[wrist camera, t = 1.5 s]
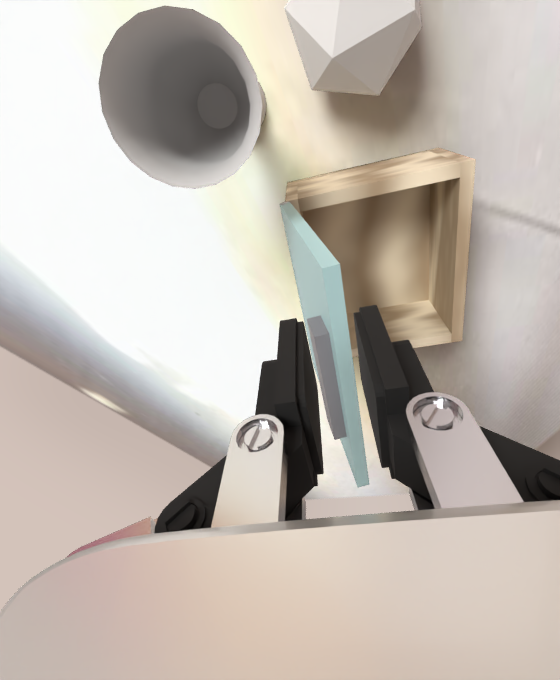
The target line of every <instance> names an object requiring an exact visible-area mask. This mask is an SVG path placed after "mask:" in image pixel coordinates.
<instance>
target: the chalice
mask: <svg viewBox="0 0 560 680" xmlns="http://www.w3.org/2000/svg"><path fill="white" fill-rule="evenodd" d="M99 89H100V97H101V105H102V112H103V115H104V117H105V120H106V122H107V124H108V127H109V129H110V132H111V134H112V137H113V139H114V140H115V142H116V143H117V144H118V146H119V147H120V148H121V150H122V151H123V152H124V153H125V155H126V156H127V157H128V159H129V160H130V161H131V162H132V163H133V164H135V165H136V166H137V167H138V168H140V169H141V170H142V171H143V172H145V173H146V174H147V175H149V176H150V177H152V178H154V179H156V180H159V181H161V182H163V183H166V184H168V185H171V186H174V187H183V188H192V189H196V188H201V187H206V186H212V185H216V184H218V183H220V182H221V181H223V180H225V179H226V178H228V177H230V176H232V175H233V174H235V173H236V172H237V171H238V169H239V168H240V167H241V166H242V165H243V164H244V163H245V161H246V160H247V159H248V158H249V157H250V155H251V153H252V150H253V148H254V145H255V143H256V140H257V138H258V136H259V133H260V126H261V125H262V123H263V120H264V118H265V115H266V100H265V94H264V92H263V89H262V87H261V85H260V83H259V82H258V81H257V76H256V73H255V71H254V69H253V67H252V65H251V63H250V61H249V59H248V58H247V56H246V54H245V52H244V50H243V48H242V46H241V45H240V44H239V43H238V42H237V41H236V40H235V39H234V38H233V37H232V36H231V35H230V34H229V33H228V32H227V31H226V30H225V29H224V28H223V27H222V26H221V24H220V23H218V22H216V21H214V20H212V19H210V18H208V17H206V16H204V15H202V14H201V13H199V12H197V11H195V10H193V9H186V8H178V7H170V6H162V7H158V8H154V9H151V10H147V11H143V12H140V13H138V14H136V15H135V16H134V17H133V18H131V19H130V20H129V21H128V22H126V23H125V24H124V25H123V26H121V27H120V28H119V29H118V30H117V31H116V33H115V35H114V36H113V38H112V40H111V42H110V44H109V45H108V47H107V49H106V51H105V52H104V55H103V61H102V66H101V72H100V78H99Z"/></svg>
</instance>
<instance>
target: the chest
mask: <svg viewBox="0 0 560 680" xmlns="http://www.w3.org/2000/svg"><path fill="white" fill-rule="evenodd" d="M475 161H476V159H473V158H470V157H466V156H463V155H460V154H457V153H454V152H451V151H448V150H444V149H441V148H435V149H431V150H426V151H422V152H418V153H413V154H409V155H404V156H400V157H396V158H391V159H387V160H383V161H378V162H374V163H370V164H365V165H361V166H357V167H352V168H348V169H344V170H339V171H335V172H331V173H326V174H322V175H318V176H313V177H309V178H304V179H300V180H296V181H291V182H287V189H286V197H285V202H290V203H291V204H292V205H293V206H294V208H295V209H296V210H297V211H298V213H299V214H300V215H301V216H302V218H303V219H304V220H305V221H306V222H307V224H308V225H309V226H310V227H311V229H312V230H313V231H314V232H315V234H316V235H317V236H318V237H319V239H320V240H321V241H322V242H323V244H324V245H325V246H326V247H327V248H328V250H329V251H330V252H331V253H332V255H333V256H334V257H335V258H336V260H337V261H338V262H339V263H340V269H341V276H342V283H343V291H344V298H345V306H346V313H347V321H348V328H349V336H350V343H351V351H352V357H357V356H358V348H357V340H356V331H355V323H354V313H356V312H359V308H360V307H366V306H371V305H377V307H378V310H379V312H380V315H381V317H382V320H383V322H384V325H385V327H386V330H387V332H388V335H389V337H390V340H391V342H395V341H401V340H409V341H410V343H411V345H412V347H413V348H417V347H424V346H431V345H437V344H444V343H451V342H458V341H462V334H463V321H464V308H465V294H466V281H467V268H468V254H469V241H470V228H471V214H472V201H473V188H474V174H475Z"/></svg>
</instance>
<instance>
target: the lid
mask: <svg viewBox="0 0 560 680" xmlns="http://www.w3.org/2000/svg"><path fill="white" fill-rule="evenodd" d="M280 208H281V213H282V218H283V222H284V227H285V232H286V237H287V241H288V246H289V251H290V256H291V260H292V265H293V270H294V274H295V279H296V284H297V289H298V293H299V298H300V303H301V308H302V312H303V317H304V322H305V327H306V331H307V336H308V341H309V346H310V350H311V355H312V360H313V364H314V368H315V371H316V374H317V376H318V379H319V382H320V386H321V391H322V396H323V400H324V405H325V410H326V415H327V419H328V422H329V425H330V428H331V431H332V434H333V436H334V439H335V440H336V439H340V440H341V442H342V445H343V448H344V451H345V453H346V456H347V459H348V462H349V464H350V467H351V470H352V473H353V475H354V478H355V481H356V484H357V486H358V487H361V486H365V485H369V478H368V471H367V463H366V456H365V448H364V441H363V433H362V426H361V418H360V411H359V403H358V396H357V388H356V381H355V373H354V366H353V358H352V351H351V343H350V336H349V328H348V321H347V313H346V306H345V298H344V291H343V283H342V276H341V269H340V263H339V262H338V261H337V260H336V258H335V257H334V256H333V255H332V253H331V252H330V251H329V250H328V248H327V247H326V246H325V245H324V244H323V242H322V241H321V240H320V239H319V237H318V236H317V235H316V234H315V232H314V231H313V230H312V229H311V227H310V226H309V225H308V224H307V222H306V221H305V220H304V219H303V218H302V216H301V215H300V214H299V213H298V211H297V210H296V209H295V208H294V206H293V205H292V204H291V203H290V202H283V203H281V204H280Z"/></svg>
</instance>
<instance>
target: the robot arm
mask: <svg viewBox="0 0 560 680" xmlns="http://www.w3.org/2000/svg"><path fill="white" fill-rule="evenodd" d="M354 323H355V331H356V340H357V348H358V356H359V364H360V373H361V380H362V385H363V389H364V394H365V398H366V402H367V407H368V411H369V415H370V419H371V424H372V428H373V432H374V437H375V441H376V445H377V450H378V454H379V458H380V462H381V466H382V468H386V467H389V470H390V474H391V478H392V479H396V480H398V481H400V482H401V483H403V484H404V485H406V486H408V487H409V494H410V497H411V500H412V503H413V506H414V510H415V511H404V512H392V513H380V514H366V515H355V516H342V517H330V518H318V519H306V501H305V495H306V494H307V493H308V492H309V491H310V490H311V489H312V488H313V487H314V486H318V482H317V474H323V458H322V444H321V430H320V417H319V403H318V390H317V383H316V378H315V374H314V369H313V364H312V360H311V355H310V350H309V346H308V341H307V336H306V331H305V327H304V323H303V322H297V319H296V318H295V319H289V320H283V321H280V328H279V341H278V354H277V360H271V361H264V362H263V363H262V368H261V375H260V383H259V390H258V398H257V405H256V413H255V416H251V417H249V418H247V419H245V420H244V421H242V422H241V423H240V424H238V426H237V427H236V428H235V429H234V431H233V433H232V436H231V439H230V443H229V448H228V452H227V455H226V456H225V457H224V458H223V459H222V460H221V461H219V462H218V463H217V464H216V465H215V466H213V467H212V468H211V469H210V470H209V471H207V472H206V473H205V474H204V475H203V476H201V477H200V478H199V479H198V480H197V481H195V482H194V483H193V484H192V485H191V486H189V487H188V488H187V489H186V490H185V491H184V492H183V493H181V494H180V495H179V496H178V497H177V498H175V499H174V500H173V501H172V502H170V503H169V505H168V506H166V508H165V509H164V510H163V511H162V513H161V514H160V516H159V517H158V518H157V519H154V520H153V519H152V518H151V517H148V518H146V519H144V520H141V521H139V522H137V523H134V524H132V525H130V526H127V527H125V528H123V529H121V530H118V531H116V532H114V533H111V534H110V535H107V536H105V537H102V538H100V539H98V540H95V541H93V542H91V543H89V544H87V545H84V546H82V547H80V548H78V549H77V550H75V551H73V552H72V553H71V554H69V556H67V557H66V558H65V559H63V560H61V561H59V562H57V563H55V564H53V565H52V566H50V567H48V568H47V569H45V570H43V571H42V572H40V573H39V574H37V575H36V576H34V577H33V578H31V579H30V580H29V581H28V582H26V583H25V584H24V585H23V586H22V587H21V588H20V589H19V590H18V591H17V592H16V593H15V594H14V595H13V596H12V597H11V598H10V600H9V601H8V602H7V603H6V605H5V606H4V607H3V609H2V610H1V611H0V680H560V460H557V459H555V458H553V457H550V456H548V455H545V454H543V453H541V452H539V451H536V450H534V449H532V448H529V447H527V446H525V445H522V444H520V443H518V442H515V441H513V440H511V439H508V438H506V437H504V436H501V435H499V434H497V433H494V432H492V431H490V430H487V429H485V428H483V427H480V426H479V425H478V424H477V422H476V420H475V419H474V417H473V415H472V414H471V412H470V410H469V409H468V407H467V406H466V405H465V404H464V403H463V402H462V401H461V400H459V399H458V398H456V397H454V396H451V395H449V394H445V393H439V392H434V391H433V389H432V387H431V385H430V383H429V381H428V378H427V376H426V374H425V372H424V370H423V368H422V366H421V364H420V362H419V359H418V357H417V355H416V353H415V351H414V349H413V347H412V345H411V343H410V341H409V340H401V341H395V342H391V340H390V337H389V335H388V332H387V330H386V327H385V325H384V322H383V320H382V317H381V315H380V312H379V310H378V307H377V305H371V306H366V307H360V308H359V312H356V313H354Z"/></svg>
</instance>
